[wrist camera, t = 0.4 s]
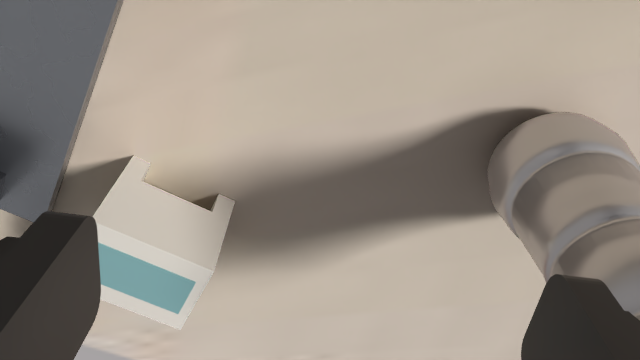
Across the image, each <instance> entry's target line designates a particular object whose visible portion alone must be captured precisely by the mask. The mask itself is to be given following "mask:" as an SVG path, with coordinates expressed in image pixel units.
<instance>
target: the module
mask: <svg viewBox="0 0 640 360" xmlns="http://www.w3.org/2000/svg"><path fill="white" fill-rule="evenodd" d="M150 165H151V163H149V162H147V161H145V160H143V159H141V158H138V157H136V156H133V157H132V158H131V160H130V161H129V163H128V164H127V166H126V167H125V169H124V170H123V172H122V173H121V175H120V176H119V178H118V179H117V181H116V182H115V184H114V185H113V187H112V188H111V190H110V191H109V193H108V194H107V196H106V197H105V199H104V200H103V202H102V203H101V205H100V206H99V208H98V209H97V211H96V212H95V214H94V215H93V216H92V217H93V218H94V219H95V221H96V225H97V234H98V249H99V264H100V280H101V296H100V300H103V301H105V302H108V303H111V304H113V305H116V306H119V307H121V308H124V309H126V310H129V311H132V312H134V313H137V314H139V315H142V316H145V317H147V318H150V319H153V320H155V321H158V322H160V323H163V324H166V325H168V326H171V327H173V328H176V329H179V330H181V328H182V326H183V325H184V323H185V321H186V319H187V318H188V316H189V314H190V312H191V311H192V309H193V307H194V306H195V304H196V302H197V300H198V299H199V297H200V295H201V293H202V292H203V290H204V288H205V287H206V285H207V283H208V281H209V280H210V278H211V276H212V274H213V273H214V270H215V267H216V264H217V260H218V257H219V254H220V250H221V247H222V243H223V240H224V237H225V233H226V230H227V227H228V223H229V220H230V217H231V213H232V210H233V206H234V203H235V201H234V200H232V199H229V198H227V197H225V196H223V195H221V194H218V196H217V198H216V200H215V202H214V204H213V206H212V207H211V209H210V211H209V210H207V209H204V208H202V207H200V206H198V205H195V204H193V203H191V202H189V201H186V200H184V199H182V198H180V197H177V196H175V195H173V194H170V193H168V192H166V191H164V190H161V189H159V188H157V187H155V186H152V185H150V184H148V183H145V182H143V181H144V179H145V176H146V174H147V172H148V169H149V167H150Z"/></svg>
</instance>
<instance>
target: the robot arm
mask: <svg viewBox="0 0 640 360" xmlns="http://www.w3.org/2000/svg"><path fill="white" fill-rule="evenodd" d="M100 296H101V280H100V264H99V249H98V234H97V225H96V221H95V219H94V218H93V217H92V216H84V215H76V214H67V213H59V212H51V211H46V212H44V213H42V214H41V215H40V216H39V217H38V218H37V219H36V220H35V222H34V223H33V224H32V225H31V226H30V227H29V228H28V229H27V230H26V232H25V233H24V234H23V235H22V236H21V237H20V238H16V237H5V238H4V239H2V240H0V360H74V358H75V356H76V354H77V352H78V350H79V349H80V347H81V345H82V343H83V341H84V339H85V338H86V336H87V334H88V332H89V330H90V328H91V327H92V325H93V323H94V320H95V318H96V315H97V311H98V308H99V303H100ZM521 360H640V320H638V319H637V318H636V317H635V316H634V315H632V314H631V313H630V312H629V311H624V310H623V308H622V307H621V305H620V304H619V303H618V301H617V300H616V298H615V297H614V296H613V294H612V293H611V291H610V290H609V288H608V287H607V286H606V284H605V283H604V282H603V281H601V280H599V279H594V278H586V277H577V276H569V275H561V274H555V275H553V276H551V277H550V278H549V280H548V281H547V283H546V285H545V288H544V290H543V293H542V295H541V297H540V300H539V302H538V305H537V307H536V309H535V312H534V314H533V317H532V319H531V321H530V324H529V326H528V329H527V331H526V333H525V336H524V339H523V343H522V350H521Z"/></svg>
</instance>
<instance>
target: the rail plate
mask: <svg viewBox="0 0 640 360" xmlns="http://www.w3.org/2000/svg"><path fill="white" fill-rule="evenodd" d="M122 3H123V0H0V209H2V210H4V211H7V212H9V213H12V214H14V215H17V216H19V217H22V218H24V219H27V220H29V221H32V222H35V220H36V219H37V218H38V217H39V216H40V215H41V214H42V213H44V212H46V211H51V212H52V209H53V206H54V203H55V200H56V197H57V195H58V192H59V189H60V186H61V183H62V180H63V177H64V174H65V171H66V168H67V165H68V162H69V159H70V156H71V153H72V150H73V147H74V144H75V142H76V139H77V136H78V133H79V130H80V127H81V124H82V121H83V118H84V115H85V112H86V109H87V106H88V103H89V100H90V97H91V94H92V91H93V88H94V86H95V83H96V80H97V77H98V74H99V71H100V68H101V65H102V62H103V59H104V56H105V53H106V50H107V47H108V44H109V41H110V38H111V35H112V33H113V30H114V27H115V24H116V21H117V18H118V15H119V12H120V9H121V6H122Z"/></svg>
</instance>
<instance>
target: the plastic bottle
mask: <svg viewBox="0 0 640 360" xmlns="http://www.w3.org/2000/svg"><path fill="white" fill-rule="evenodd" d="M488 182H489V189H490V197H491V200H492V202H493V205H494V208H495V209H496V210H497V212H498V213H499V215H500V216H501V217H502V219H503V220H504V221H505V223H506V224H507V226H508V227H509V228H510V230H511V231H512V232H513V233H514V234H515V235H516V236H517V237H518V238H519V239H520V240H521V241H522V243H523V244H524V246H525V248H526V249H527V251H528V252H529V254H530V255H531V257H532V259H533V260H534V262H535V263H536V265H537V266H538V268H539V270H540V271H541V273H542V274H543V276H544V278H545V281H546V283H547V281H548V280H549V278H550V277H551V276H553V275H555V274H561V275H569V276H577V277H586V278H594V279H599V280H601V281H603V282H604V283H605V284H606V286H607V287H608V288H609V290H610V291H611V293H612V294H613V296H614V297H615V298H616V300H617V301H618V303H619V304H620V305H621V307H622V308H623V310H624V311H629V312H630V313H631V314H632V315H634V316H635V317H636V318H637V319H638V320H640V165H639V163H638V161H637V160H636V158H635V156H634V155H633V153H632V151H631V150H630V148H629V147H628V145H627V144H626V142H625V141H624V140H623V139H622V138H621V137H620V136H619V135H618V133H616V132H614V131H613V130H611V129H610V128H608V127H607V126H605V125H603V124H601V123H600V122H598V121H596V120H594V119H593V118H590V117H587V116H585V115H582V114H577V113H570V112H555V113H550V114H545V115H541V116H538V117H535V118H532V119H529V120H527V121H526V122H524V123H522V124H520V125H518V126H517V127H515V128H514V129H513V130H512V131H510V132H509V133H508V134H507V135H506V136H505V137H504V138H503V139H502V140H501V141H500V142H499V143H498V145H497V147H496V148H495V150H494V151H493V153H492V156H491V159H490V161H489V166H488Z"/></svg>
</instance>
